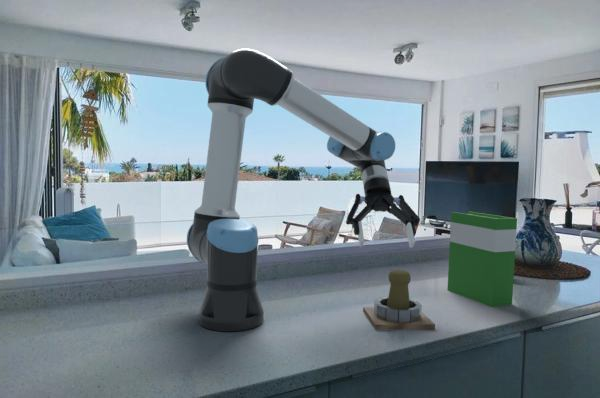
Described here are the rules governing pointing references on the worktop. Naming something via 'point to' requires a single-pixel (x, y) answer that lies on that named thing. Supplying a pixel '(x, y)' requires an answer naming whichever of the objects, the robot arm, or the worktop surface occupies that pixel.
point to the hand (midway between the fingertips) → (387, 244)
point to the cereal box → (482, 257)
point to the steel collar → (397, 311)
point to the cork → (399, 289)
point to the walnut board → (386, 325)
